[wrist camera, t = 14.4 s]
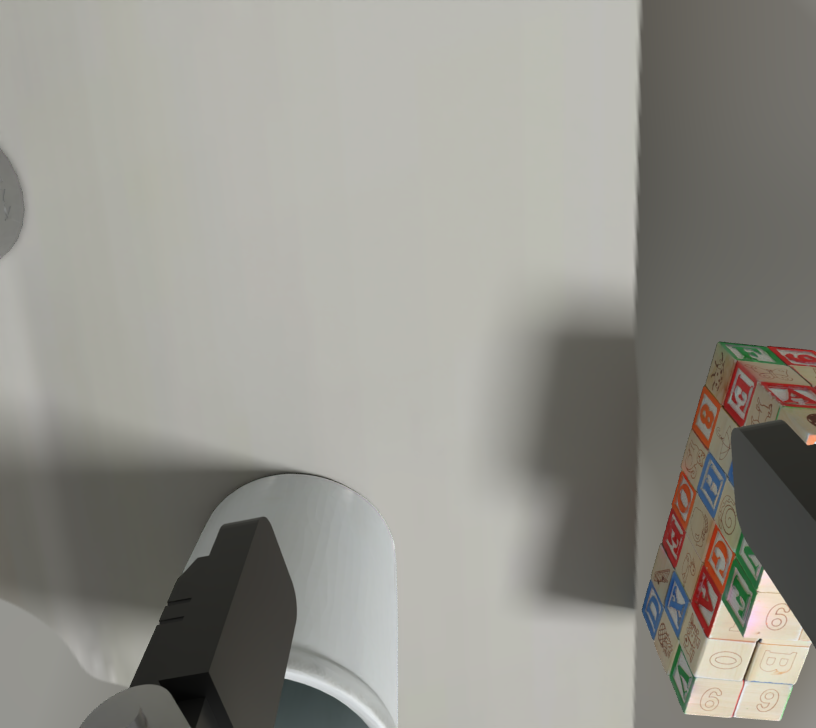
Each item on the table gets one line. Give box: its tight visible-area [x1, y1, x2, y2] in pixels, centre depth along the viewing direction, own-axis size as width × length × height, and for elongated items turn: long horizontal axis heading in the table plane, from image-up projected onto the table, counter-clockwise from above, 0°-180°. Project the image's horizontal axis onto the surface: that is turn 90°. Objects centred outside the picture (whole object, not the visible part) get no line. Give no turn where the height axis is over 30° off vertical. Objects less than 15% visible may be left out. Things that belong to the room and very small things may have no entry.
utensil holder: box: [182, 474, 398, 728], centre depth 45 cm, size 15×15×18 cm
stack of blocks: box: [642, 342, 816, 721], centre depth 45 cm, size 21×6×12 cm, turn 175°
